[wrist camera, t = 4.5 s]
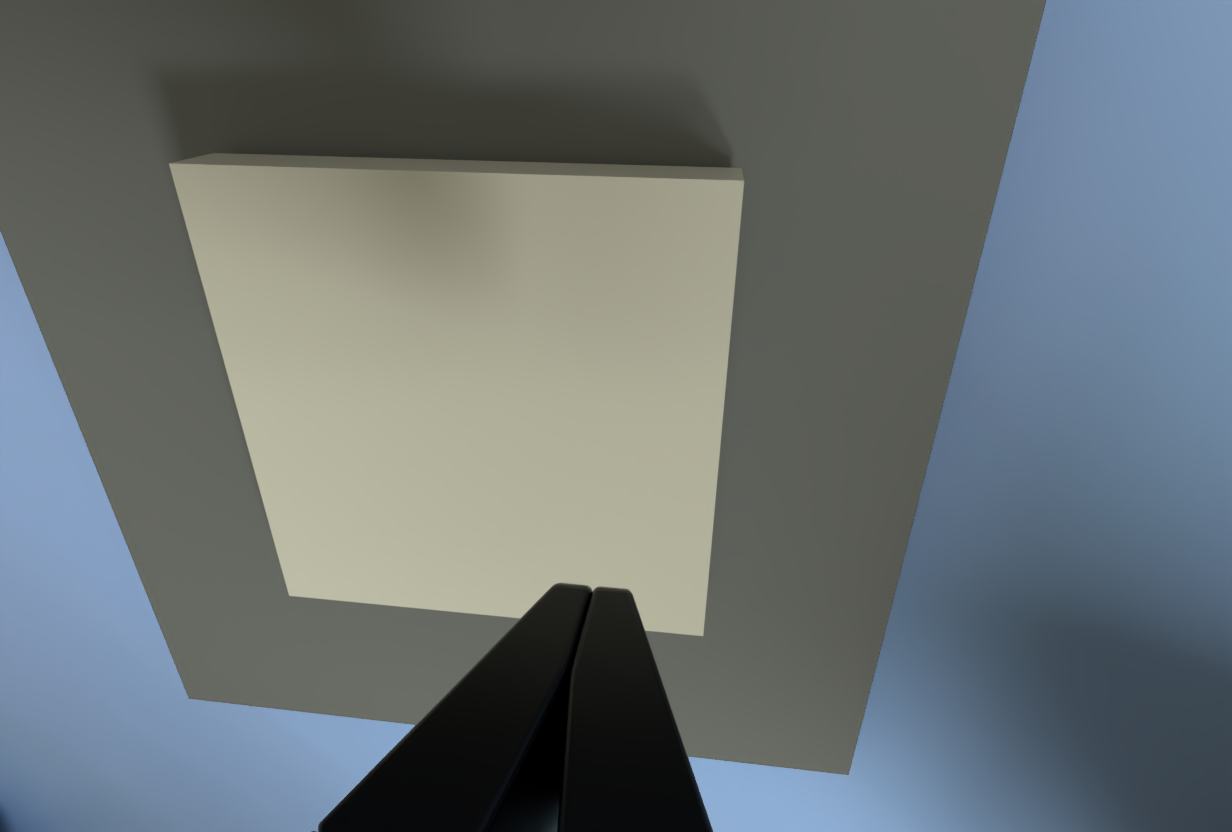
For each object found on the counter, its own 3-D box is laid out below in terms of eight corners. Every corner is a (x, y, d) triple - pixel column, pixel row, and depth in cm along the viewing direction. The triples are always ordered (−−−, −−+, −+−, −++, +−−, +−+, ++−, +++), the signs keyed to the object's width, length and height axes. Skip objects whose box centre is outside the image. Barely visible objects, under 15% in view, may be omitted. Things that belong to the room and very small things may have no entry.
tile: (744, 180, 9) (168, 163, 10) (703, 636, 13) (288, 595, 14) (742, 165, 10) (221, 150, 11) (704, 591, 14) (319, 556, 15)
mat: (1102, -302, 8) (1130, -326, 7) (844, 751, 16) (848, 775, 16) (-152, -253, 10) (-202, -270, 9) (203, 679, 18) (189, 698, 18)
